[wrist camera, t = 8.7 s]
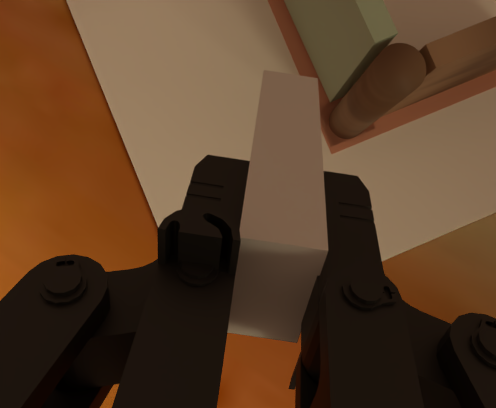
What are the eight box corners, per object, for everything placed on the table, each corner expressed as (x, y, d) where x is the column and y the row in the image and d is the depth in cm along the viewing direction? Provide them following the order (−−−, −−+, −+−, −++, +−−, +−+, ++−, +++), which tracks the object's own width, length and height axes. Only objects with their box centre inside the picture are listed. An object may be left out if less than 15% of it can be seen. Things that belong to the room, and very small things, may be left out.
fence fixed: (514, 34, 27) (643, -57, 18) (528, 66, 27) (665, -12, 18) (322, 112, 26) (366, 54, 18) (336, 144, 26) (387, 101, 17)
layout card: (448, -167, 28) (452, -174, 27) (600, 165, 27) (607, 164, 26) (58, -22, 26) (55, -27, 26) (203, 336, 25) (203, 338, 25)
